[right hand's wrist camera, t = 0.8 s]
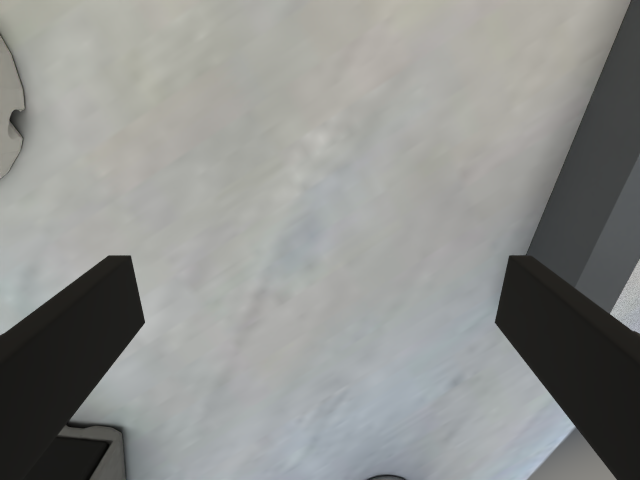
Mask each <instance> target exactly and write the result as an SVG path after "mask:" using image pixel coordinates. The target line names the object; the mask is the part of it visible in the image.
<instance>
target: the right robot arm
mask: <svg viewBox="0 0 640 480" xmlns="http://www.w3.org/2000/svg"><path fill="white" fill-rule="evenodd" d="M144 323H145V320H144V315H143V311H142V306H141V301H140V296H139V292H138V287H137V282H136V278H135V273H134V268H133V264H132V259H131V256H107V257H106V258H105V259H103V260H102V261H101V262H99V263H98V264H97V265H95V266H94V267H93V268H91V269H90V270H89V271H87V272H86V273H85V274H83V275H82V276H81V277H79V278H78V279H77V280H75V281H74V282H73V283H71V284H70V285H69V286H67V287H66V288H65V289H63V290H62V291H61V292H59V293H58V294H56V295H55V296H54V297H52V298H51V299H50V300H48V301H47V302H46V303H44V304H43V305H42V306H40V307H39V308H38V309H36V310H35V311H34V312H32V313H31V314H30V315H28V316H27V317H26V318H24V319H23V320H22V321H20V322H19V323H18V324H16V325H15V326H14V327H12V328H11V329H10V330H8V331H7V332H6V333H4V334H2V335H0V480H23V479H24V478H25V476H26V475H27V474H28V473H29V471H30V470H31V469H32V467H33V466H34V465H35V464H36V462H37V461H38V460H39V458H40V457H41V456H42V455H43V453H44V452H45V451H46V449H47V448H48V447H49V446H50V444H51V443H52V442H53V440H54V439H55V438H56V437H57V435H58V434H59V433H60V431H61V430H62V429H63V428H64V426H65V425H66V424H67V422H68V421H69V420H70V419H71V417H72V416H73V415H74V413H75V412H76V411H77V410H78V408H79V407H80V406H81V404H82V403H83V402H84V401H85V399H86V398H87V397H88V395H89V394H90V393H91V392H92V390H93V389H94V388H95V386H96V385H97V384H98V383H99V381H100V380H101V379H102V377H103V376H104V375H105V374H106V372H107V371H108V370H109V368H110V367H111V366H112V365H113V363H114V362H115V361H116V359H117V358H118V357H119V356H120V354H121V353H122V352H123V350H124V349H125V348H126V347H127V345H128V344H129V343H130V341H131V340H132V339H133V338H134V336H135V335H136V334H137V332H138V331H139V330H140V329H141V327H142V326H143V325H144ZM495 323H496V325H497V326H498V327H499V329H500V330H501V331H502V332H503V334H504V335H505V336H506V338H507V339H508V340H509V341H510V343H511V344H512V345H513V347H514V348H515V349H516V350H517V352H518V353H519V354H520V356H521V357H522V358H523V359H524V361H525V362H526V363H527V365H528V366H529V367H530V368H531V370H532V371H533V372H534V374H535V375H536V376H537V377H538V379H539V380H540V381H541V383H542V384H543V385H544V386H545V388H546V389H547V390H548V392H549V393H550V394H551V395H552V397H553V398H554V399H555V401H556V402H557V403H558V404H559V406H560V407H561V408H562V410H563V411H564V412H565V413H566V415H567V416H568V417H569V419H570V420H571V421H572V422H573V424H574V425H575V426H576V428H577V429H578V430H579V431H580V433H581V434H582V435H583V437H584V438H585V439H586V440H587V442H588V443H589V444H590V446H591V447H592V448H593V449H594V451H595V452H596V453H597V455H598V456H599V457H600V458H601V460H602V461H603V462H604V464H605V465H606V466H607V467H608V469H609V470H610V471H611V473H612V474H613V475H614V476H615V478H616V479H617V480H640V334H639V333H637V332H635V331H632V330H630V329H629V328H628V327H626V326H625V325H624V324H622V323H621V322H620V321H618V320H617V319H616V318H614V317H613V316H612V315H610V314H609V313H608V312H606V311H605V310H604V309H602V308H601V307H600V306H598V305H597V304H596V303H594V302H593V301H592V300H590V299H589V298H588V297H586V296H585V295H584V294H582V293H581V292H579V291H578V290H577V289H575V288H574V287H573V286H571V285H570V284H569V283H567V282H566V281H565V280H563V279H562V278H561V277H559V276H558V275H557V274H555V273H554V272H553V271H551V270H550V269H549V268H547V267H546V266H545V265H543V264H542V263H541V262H539V261H538V260H537V259H535V258H534V257H533V256H509V259H508V264H507V268H506V273H505V278H504V282H503V287H502V292H501V296H500V301H499V306H498V310H497V315H496V320H495Z"/></svg>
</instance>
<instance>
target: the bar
mask: <svg viewBox="0 0 640 480" xmlns="http://www.w3.org/2000/svg"><path fill="white" fill-rule="evenodd" d="M526 256H533V257H534V258H535V259H537V260H538V261H539V262H541V263H542V264H543V265H545V266H546V267H547V268H549V269H550V270H551V271H553V272H554V273H555V274H557V275H558V276H559V277H561V278H562V279H563V280H565V281H566V282H567V283H569V284H570V285H571V286H573V287H574V288H575V289H577V290H578V291H579V292H581V293H582V294H584V295H585V296H586V297H588V298H589V299H590V300H592V301H593V302H594V303H596V304H597V305H598V306H600V307H601V308H602V309H604V310H605V311H606V312H608V313H609V314H610V312H611V310H612V309H613V307H614V305H615V303H616V301H617V299H618V298H619V296H620V294H621V292H622V290H623V288H624V287H625V285H626V283H627V281H628V279H629V277H630V275H631V274H632V272H633V270H634V268H635V266H636V264H637V263H638V261H639V259H640V0H632V1H631V3H630V5H629V8H628V10H627V13H626V15H625V18H624V20H623V22H622V25H621V27H620V30H619V32H618V34H617V37H616V39H615V42H614V44H613V47H612V49H611V51H610V54H609V56H608V59H607V61H606V63H605V66H604V68H603V71H602V73H601V76H600V78H599V80H598V83H597V85H596V88H595V90H594V92H593V95H592V97H591V100H590V102H589V105H588V107H587V109H586V112H585V114H584V117H583V119H582V121H581V124H580V126H579V129H578V131H577V134H576V136H575V138H574V141H573V143H572V146H571V148H570V150H569V153H568V155H567V158H566V160H565V163H564V165H563V167H562V170H561V172H560V175H559V177H558V179H557V182H556V184H555V187H554V189H553V192H552V194H551V196H550V199H549V201H548V204H547V206H546V208H545V211H544V213H543V216H542V218H541V221H540V223H539V225H538V228H537V230H536V233H535V235H534V237H533V240H532V242H531V245H530V247H529V250H528V252H527V254H526Z"/></svg>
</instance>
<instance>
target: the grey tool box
mask: <svg viewBox="0 0 640 480" xmlns="http://www.w3.org/2000/svg"><path fill="white" fill-rule="evenodd" d="M23 480H126V477H125V464H124V452H123V439H122V433H121V432H119V431H117V430H115V429H114V428H112V427H104V426H92V427H88V428H84V429H81V428H71V427H68V426H67V425H65V426H64V428H63V429H62V430H61V431H60V433H59V434H58V435H57V437H56V438H55V439H54V440H53V442H52V443H51V444H50V446H49V447H48V448H47V449H46V451H45V452H44V453H43V455H42V456H41V457H40V458H39V460H38V461H37V462H36V464H35V465H34V466H33V467H32V469H31V470H30V471H29V473H28V474H27V475H26V476H25V478H24V479H23Z"/></svg>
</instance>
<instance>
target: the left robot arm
mask: <svg viewBox="0 0 640 480" xmlns="http://www.w3.org/2000/svg"><path fill="white" fill-rule="evenodd" d="M370 480H404V479H402V478H398V477H393V476H381V477H376V478H373V479H370Z"/></svg>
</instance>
